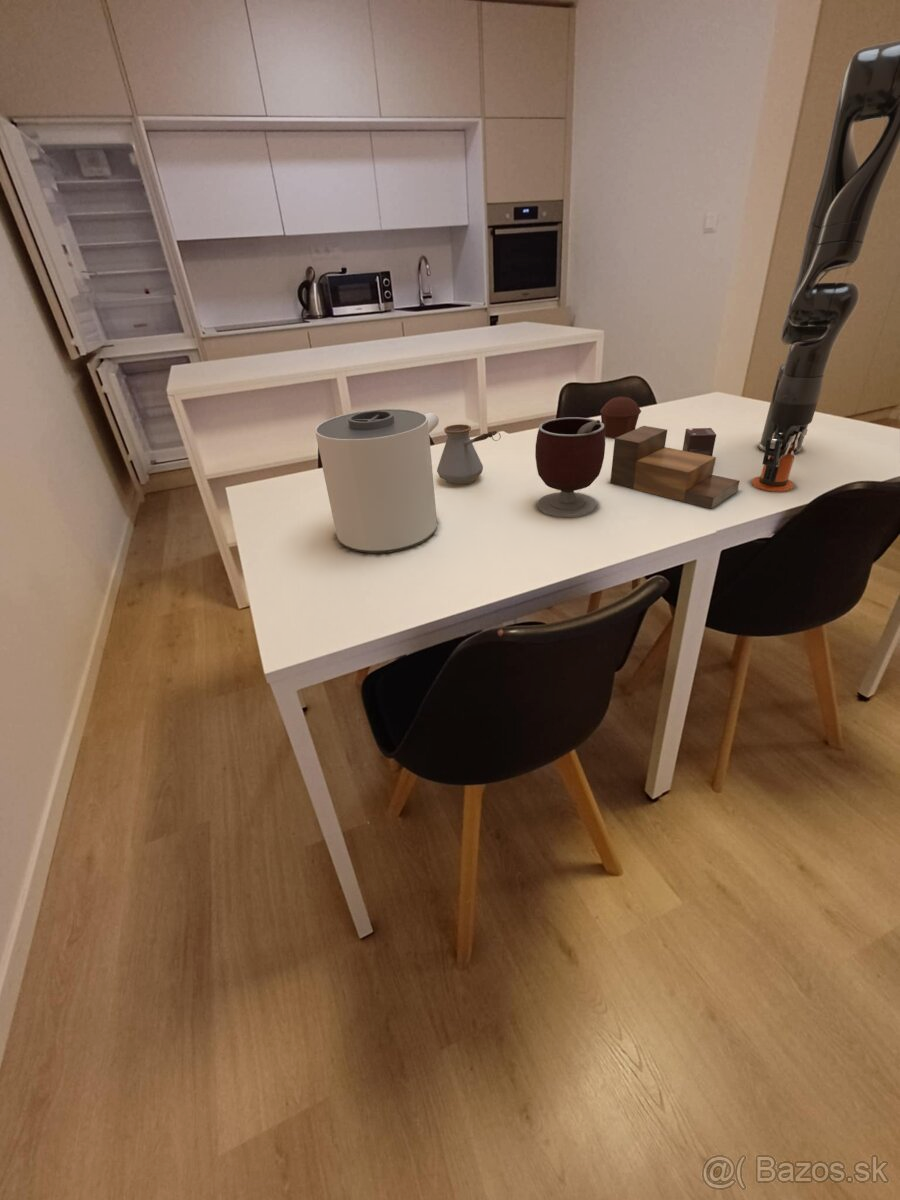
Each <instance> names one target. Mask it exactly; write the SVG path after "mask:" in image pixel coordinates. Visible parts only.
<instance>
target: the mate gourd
mask: <svg viewBox="0 0 900 1200" xmlns="http://www.w3.org/2000/svg"><path fill="white" fill-rule="evenodd" d="M605 450H606V436H605V432H604V424H603V423H602V422H601V420H600V419H594V418H588V417H578V416H577V417H576V416H575V417H574V416H573V417H572V416H570V417H569V416H568V417H559V418H553V419H548V420H546V421H542V422H541V423H540V424H539V425H538V429H537V435H536V440H535V451H534V453H535V455H534V456H535V462H536V463H535V464H536V465H535V466H536V470H537V474H538V476H539V478H540V479H541V480H542V482H543V483H544V484H545V486H546V487H548V488H551V489H554V490H557V491H560V492H552V493H549V494H546V495H544V496H542V497H541V498H540V499H539V500H538V502H537V506H538V507H537V508H538V509H539V511H541V512H542V513H543V514H545V515H548V516H552V517H555V518H556V517H557V518H579V517H583V516H587V515H589V514H591V513H592V512H594V511H595V510H596V506H597V502H596V500H595V499H594V498H593V497H591V496H590V495H587V494H585V493H580V492H575V491H578V490H583V489H585V488H588V487H590V486H591V485H592V484H593V482H594V481H596V479H597V478H598V477H599V475H600V473H601V470H602V468H603V464H604V460H605V452H606V451H605Z"/></svg>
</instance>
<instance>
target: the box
mask: <svg viewBox="0 0 900 1200" xmlns="http://www.w3.org/2000/svg"><path fill="white" fill-rule="evenodd" d="M716 438H717V433H716V432H715V431H714V430H713V428H712V427H698V428H697V427H696V428H695V427H692V428H691V427H690V428H689V427H688V428H686V429H685V432H684V437H683V444H682V449H681V450H682V451H687V452H693V453H698V454H703V455H708V456H713V453H714V448H715V444H716V440H717V439H716Z"/></svg>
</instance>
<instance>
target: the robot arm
mask: <svg viewBox="0 0 900 1200" xmlns="http://www.w3.org/2000/svg"><path fill="white" fill-rule="evenodd" d="M842 77H843V78H842V82H841V85H840V89H839V92H838V93H839V94H838V98H837V102H836V108H835V113H834V118H833V122H832V123H833V124H832V128H831V133H830V139H829V144H828V148H827V155H826V160H825V162H824V164H825V165H824V168H823V171H822V176H821V179H820V184H819V187H818V190H817V194H816V198H815V201H814V204H813V208H812V212H811V215H810V220H809V224H808V228H807V231H806V235H805V240H804V246H803V250H802V254H801V260H800V265H799V269H798V272H797V276H796V281H795V283H794V287H793V290H792V293H791V297H790V300H789V303H788V306H787V309H786V312H785V316H784V319H783V323H782V327H781V333H780V339H781V343H782V344H783V345H785V346H789V349H788V352H787V356H786V359H785V362H783V363H782V364H781V365H779V368H778V371H777V375H776V379H775V383H774V387H773V391H772V396H771V399H770V403H769V407H768V410H767V415H766V419H765V423H764V426H763V431H762V435H761V438H760V442H759V444H758V448H759V449H760V450H761V451H763V452H764V454H763V458H762V459H763V460H762V465H763V466H764V465H767V466H766V470H765V474H764V477H763V482H764V483H769V484H773V483H774V482H775V479H776V476H777V472H778V469H779V466H780V463H781V461H782V458H783V457H784V456H786V455H787V453H790V454H792V455H795V454H798V453H800V452H801V451H802V448H803V443H804V440H805V436H807V433H808V431H809V430H808V426H809V425H810V424H811V423H812V422H813V418H814V415H815V412H816V408H817V407H818V406H817V405H818V402H819V398H820V395H821V393H822V388H823V385H824V384H823V383H824V378H825V373H826V370H827V367H828V364H829V360H830V358H831V354H832V352H833V349H834V347H835V345H836V343H837V341H838V338H839V337H840V335H841V333H842V331H843V329H844V328H845V326H846V325H847V324H848V321H849V320H850V319H851V317H852V315H853V314H854V312H855V310H856V308H857V306H858V304H859V301H860V289H859V287H858V285H857V284H856V283H855V282H851V281H849V282H848V281H847V282H846V281H844V282H822V281H823V279H824V278H825V277H826V276H828V274H829V273H831V272H832V271H835V270H836V271H837V270H839V269H843V268H847V267H851V266H852V265H854V264H856V262H857V261H858V260H859V258H860V256H861V254H862V250H863V247H864V243H865V240H866V237H867V234H868V230H869V227H870V223H871V220H872V217H873V214H874V210H875V207H876V206H877V205H876V204H877V202H878V198H879V196H880V194H881V191H882V189H883V186H884V183H885V181H886V179H887V176H888V174H889V173H890V169H891V167H892V164H893V162H894V160H895V158H896V156H897V153H898V150H899V147H900V39H897V40H891V41H887V42H882V43H875V44H872V45H871V44H870V45H868V46H864V47H861V48H859V49H857V50H856V51H855V52H854V54H853V55H852V56H851V58H850V59H849V61H848V64H847V66H846V69H845V72H844V74H843V76H842ZM883 119H887V120H886V123H885V125H884V128H883V130H882V132H881V134H880V136H879V139H878V140H877V142H876V144H875V145H874V147H873V148H872V150H871V151H870V153H869V154H868V156H867V157H866V158H865V159H864V161H863V162H862V163H861V164H860V162H859V159H858V156H857V152H856V145H855V134H854V133H855V129H854V128H855V124H856V123H862V122H870V121H875V120H876V121H877V120H883ZM773 456H774V460H771V459H772V457H773Z"/></svg>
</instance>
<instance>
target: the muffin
mask: <svg viewBox="0 0 900 1200" xmlns="http://www.w3.org/2000/svg"><path fill="white" fill-rule="evenodd" d="M599 411H600V419H601V420H600V422H602V423H603V424H604V432H605V438H612V439H615V438H616V437H619V436H621V435H623V434H626V433H628V432H630V431H633V430H635V429H636V427H637V424H638V419H639V416H640V415H641V413H642V410H641V408H640V406H639V405H638V403H637V402H636V401H635V400H634V399H632V398H631V397H628V396H617V397H613V398H611V399H610V400H608V401H607V402H606V403H605V404H604V405H603V406H602V408H601V409H600V410H599Z"/></svg>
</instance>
